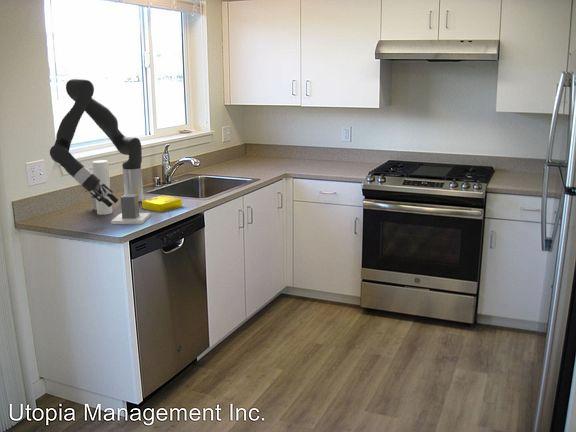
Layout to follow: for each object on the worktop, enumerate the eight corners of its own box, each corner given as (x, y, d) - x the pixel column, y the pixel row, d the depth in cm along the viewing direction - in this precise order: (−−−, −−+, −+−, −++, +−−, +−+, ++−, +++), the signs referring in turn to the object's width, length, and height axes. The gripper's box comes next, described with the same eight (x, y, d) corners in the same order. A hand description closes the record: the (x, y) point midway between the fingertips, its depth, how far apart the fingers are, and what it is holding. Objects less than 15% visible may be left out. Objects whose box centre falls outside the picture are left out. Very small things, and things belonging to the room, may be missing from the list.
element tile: (160, 213, 287) (160, 203, 286) (140, 208, 296) (140, 199, 295) (184, 206, 299) (183, 197, 298) (164, 203, 308) (163, 194, 306)
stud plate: (120, 216, 280) (119, 198, 278) (150, 216, 280) (149, 198, 278) (111, 224, 267) (109, 205, 265) (142, 223, 266) (140, 205, 264)
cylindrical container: (114, 210, 291) (109, 160, 285) (110, 214, 284) (105, 162, 278) (99, 211, 291) (94, 160, 285) (95, 214, 284) (90, 162, 278)
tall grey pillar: (126, 215, 276) (124, 194, 274) (139, 215, 276) (137, 193, 273) (122, 218, 270) (120, 197, 268) (135, 218, 270) (134, 196, 267)
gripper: (86, 176, 262) (114, 201, 264) (97, 170, 275) (124, 194, 278) (75, 188, 263) (103, 213, 266) (87, 181, 277) (113, 205, 279)
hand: (114, 203), depth 272 cm, fingers open, 8 cm apart
